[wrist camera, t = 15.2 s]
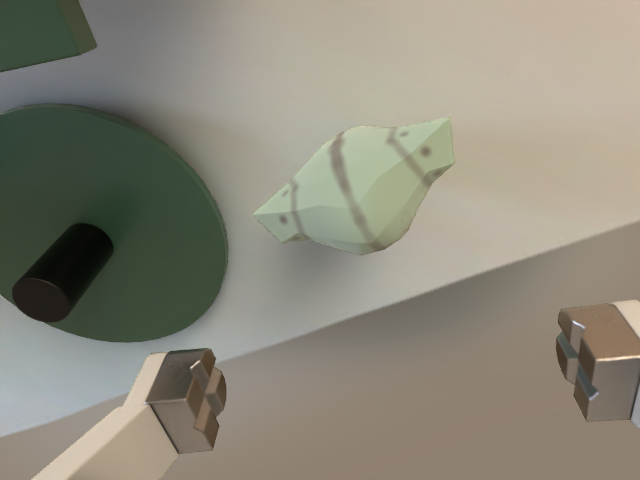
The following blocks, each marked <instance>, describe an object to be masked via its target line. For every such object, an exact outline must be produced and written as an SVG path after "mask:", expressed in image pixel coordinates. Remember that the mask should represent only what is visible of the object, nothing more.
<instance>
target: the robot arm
mask: <svg viewBox="0 0 640 480" xmlns="http://www.w3.org/2000/svg"><path fill="white" fill-rule="evenodd" d="M558 323H559V325H560V327H561V329H562V332H561V333H560V334H559V335H558V336H557V339H556V351H557V357H558V362H559V365H560V368H561V371H562V373H563V374H564V377H565V379H566V380H568V381H569V382H571V383H572V384H574V385H575V389H574V397H575V399H576V401H577V403H578V405H579V407H580V409H581V411H582V413H583V415H584V417H585V419H586V421H587V422H590V421H591V422H593V421H613V420H631V422H632V423H633V424H634V425H636V426H637V427H638V428H640V302H639V301H637V300H629V301H620V302H612V303H606V304H597V305H589V306H580V307H571V308H563V309H561V310H560V312H559V317H558ZM215 360H216V358H215V356H214V354H213V352H212V350H211V349H208V348H202V349H190V350H178V351H170V352H160V353H151V354H150V355H149V356H147V357H146V359H145V361H144V363H143V365H142V367H141V369H140V371H139V373H138V376H137V378H136V380H135V382H134V384H133V386H132V388H131V390H130V392H129V394H128V396H127V398H126V400H125V402H124V404H123V406H122V407H116V408H115V409H114V410H113V411H112V412H110V413H109V414H108V415H107V416H106V417H104V419H102V420H101V421H100V422H99V423H97V424H96V425H95V426H94V427H93V428H91V429H90V430H89V431H88V432H87V433H86V434H84V435H83V436H82V437H81V438H80V439H78V440H77V441H76V442H75V443H74V444H72V445H71V446H70V447H69V448H68V449H67V450H65V451H64V452H63V453H62V454H61V455H59V456H58V457H57V458H56V459H55V460H53V461H52V462H51V463H50V464H49V465H48V466H46V467H45V468H44V469H43V470H42V471H41V472H39V473H38V474H37V475H36V476H35V477H34V478H32V479H31V480H160V479H161V478H162V477H163V475H164V474H165V473H166V471H167V470H168V469H169V468H170V467H171V465H172V464H173V463H174V462H175V461H176V459H177V458H178V457H179V454H183V453H192V452H201V451H211V450H213V447H214V443H215V440H216V436H217V432H218V428H219V424H218V422H217V420H216V417H217V416H218V415H219V414H220V413H221V412H222V411H223V410H224V406H225V402H226V384H225V378H224V376H223V374H222V371H220V370H219V369H217V368H216V367H214V364H215Z"/></svg>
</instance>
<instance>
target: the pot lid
mask: <svg viewBox="0 0 640 480" xmlns="http://www.w3.org/2000/svg"><path fill="white" fill-rule="evenodd" d="M227 263H228V243H227V235H226V230H225V227H224V223H223V219H222V216H221V214H220V212H219V209H218V207H217V205H216V202H215V200H214V199H213V197H212V195H211V194H210V192H209V190H208V189H207V187H206V185H205V184H204V183H203V181H202V180H201V179H200V178H199V176H198V175H197V174H196V172H195V171H194V170H193V169H192V168H191V167H190V166H189V165H188V164H187V163H186V162H185V161H184V159H183V158H182V157H181V156H180V155H178V154H177V153H176V152H175V151H174V150H172V149H171V148H170V147H169V146H168V145H166V144H165V143H164V142H162V141H161V140H159V139H158V138H156V137H155V136H153V135H152V134H150V133H149V132H147V131H146V130H144V129H142V128H140V127H138V126H136V125H134V124H133V123H131V122H129V121H127V120H124V119H122V118H119V117H117V116H114V115H111V114H109V113H106V112H103V111H99V110H95V109H91V108H88V107H83V106H76V105H69V104H37V105H29V106H23V107H20V108H16V109H13V110H9V111H6V112H4V113H2V114H0V294H1V295H2V296H3V297H4V298H6V299H7V300H8V301H10V302H11V303H12V304H14V305H15V306H17V307H18V308H19V309H20V310H21V311H22V312H23V313H24V314H26V315H27V316H29V317H31V318H33V319H35V320H38V321H41V322H44V323H46V324H48V325H50V326H53V327H55V328H58V329H60V330H63V331H65V332H68V333H71V334H75V335H78V336H81V337H86V338H90V339H95V340H101V341H109V342H142V341H148V340H154V339H158V338H162V337H165V336H168V335H171V334H174V333H176V332H178V331H180V330H182V329H184V328H186V327H187V326H189V325H191V324H192V323H194V322H195V321H196V320H197V319H198V318H200V317H201V316H202V315H203V314H204V313H205V312H206V311H207V309H208V308H209V307H210V306H211V305H212V303H213V302H214V300H215V298H216V297H217V295H218V293H219V290H220V288H221V285H222V283H223V280H224V277H225V273H226V268H227Z"/></svg>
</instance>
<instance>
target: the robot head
mask: <svg viewBox="0 0 640 480" xmlns="http://www.w3.org/2000/svg"><path fill="white" fill-rule="evenodd" d="M453 164H454V153H453V142H452V131H451V120H450V117H448V118H442V119H437V120H432V121H427V122H421V123H416V124H411V125H405V126H400V127H391V128H380V127H376V126H357V127H354V128H352V129H350V130H347V131H345V132H342V133H341V134H339V135H337V136H336V137H334V138H332V139H331V140H329V141H327V142H325V143H324V144H323V145H322V146H321V147H320V148H319V150H318V151H317V152H316V153H315V154H314V155H313V156H312V157H311V159H310V160H309V161H308V162H307V163H306V164H305V165H304V166H303V167H302V168H301V169H300V170H299V171H298V173H297V174H296V175H295V176H294V177H293V178H292V179H291V180H290V181H289V182H288V183H287V184H286V185H285V186H284V187H282V188H281V189H280V190H279V191H278V192H277V193H276V194H275V195H274V196H272V197H271V198H270V199H269V200H268V201H267V202H266V203H265V204H264V205H262V206H261V207H260V208H259V209H258V210H257V211H256V212H255V213H254V214H253V216H254V217H255V218H256V219H257V220H258V221H259V222H260V223H261V224H262V225H263V226H264V227H265V228H266V229H267V230H268V231H269V232H270V233H271V234H272V235H273V236H274V237H275V238H277V239H278V240H279V241H280V242H281V243H287V242H294V241H302V240H311V241H314V242H317V243H321V244H324V245H327V246H330V247H333V248H337V249H341V250H344V251H348V252H351V253H355V254H359V255H365V254H369V253H372V252H376V251H380V250H384V249H385V248H387V247H389V246H390V245H392V244H393V243H395V242H396V241H398V240H399V239H401V237H402V236H403V235H404V234H405V233H406V232H407V231H408V230H409V227H410V225H411V223H412V220H413V218H414V216H415V213H416V211H417V209H418V207H419V205H420V203H421V202H422V200H423V198H424V197H425V195H426V193H427V192H428V190H429V188H430V187H431V185H432V183H433V182H434V181H435V180H436V179H437V178H439V177H440V176H441V175H442V174H443V173H444V172H445V171H446V170H447V169H449V168H450V167H451V166H452V165H453Z"/></svg>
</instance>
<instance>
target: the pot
mask: <svg viewBox="0 0 640 480" xmlns="http://www.w3.org/2000/svg"><path fill="white" fill-rule="evenodd" d="M96 47H97V44H96V41H95V39H94V37H93V34H92V32H91V29H90V27H89V25H88V22H87V20H86V18H85V15H84V13H83V10H82V8H81V6H80V3H79V1H78V0H0V72H4V71H9V70H13V69H18V68H23V67H27V66H32V65H36V64H41V63H46V62H50V61H55V60H60V59H64V58H69V57H73V56H78V55H81V54H83V53H86V52H88V51H90V50H92V49H95V48H96Z"/></svg>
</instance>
